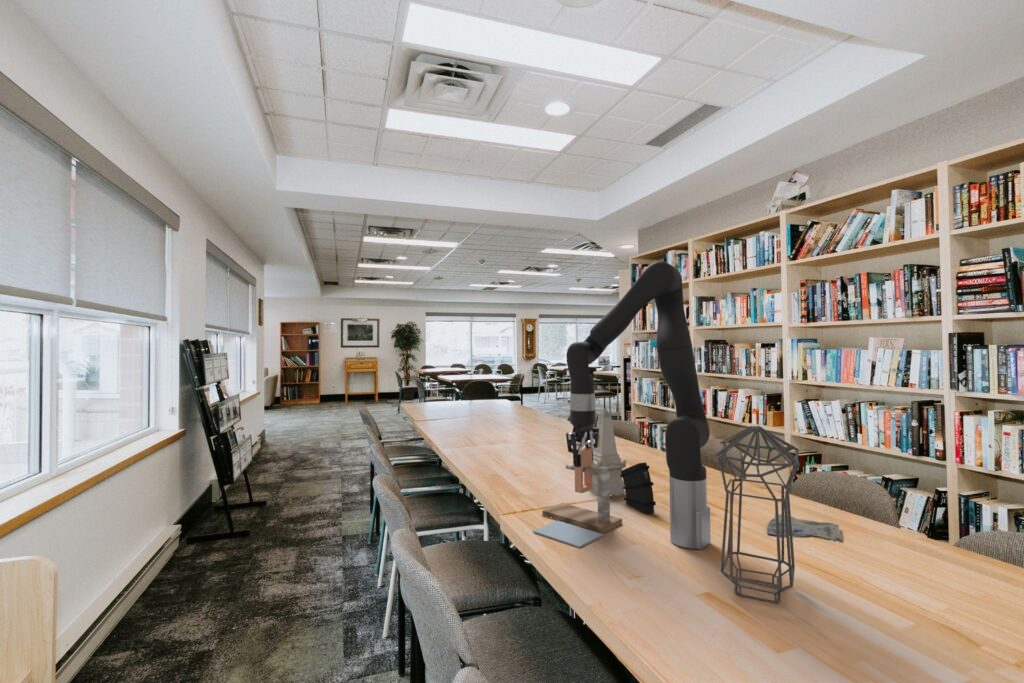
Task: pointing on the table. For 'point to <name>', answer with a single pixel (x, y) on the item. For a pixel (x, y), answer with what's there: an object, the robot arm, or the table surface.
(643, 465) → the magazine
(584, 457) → the salmon hollow block
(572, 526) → the mat
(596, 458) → the miniature monument
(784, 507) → the geometric lantern
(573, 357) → the robot arm
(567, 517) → the stand
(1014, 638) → the table surface
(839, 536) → the fossil rock
